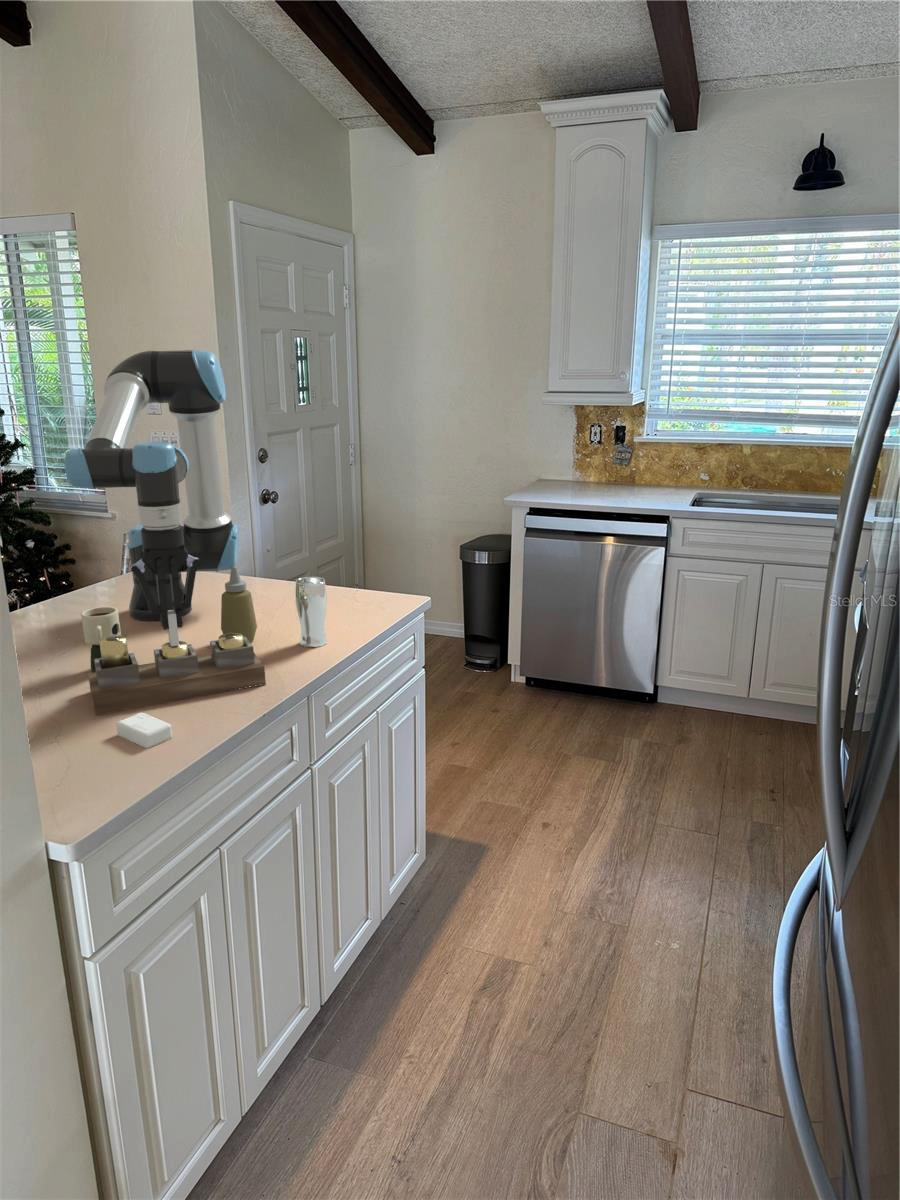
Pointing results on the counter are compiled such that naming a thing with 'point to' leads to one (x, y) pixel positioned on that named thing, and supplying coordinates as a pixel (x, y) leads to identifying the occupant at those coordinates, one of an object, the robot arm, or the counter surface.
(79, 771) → the counter surface
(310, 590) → the beer glass
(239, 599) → the squeeze bottle
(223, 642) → the knob
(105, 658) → the knob
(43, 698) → the counter surface
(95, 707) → the mount
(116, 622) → the character mug
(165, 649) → the knob middle
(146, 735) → the soap
